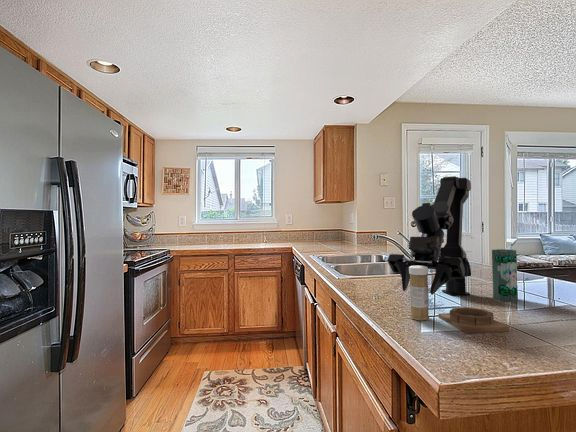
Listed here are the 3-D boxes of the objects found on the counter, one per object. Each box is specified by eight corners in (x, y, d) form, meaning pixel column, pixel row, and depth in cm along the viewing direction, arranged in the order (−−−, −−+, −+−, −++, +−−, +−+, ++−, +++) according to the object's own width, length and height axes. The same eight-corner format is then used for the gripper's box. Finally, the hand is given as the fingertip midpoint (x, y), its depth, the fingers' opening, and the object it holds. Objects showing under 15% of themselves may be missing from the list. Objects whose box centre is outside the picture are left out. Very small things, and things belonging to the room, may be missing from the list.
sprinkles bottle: (419, 314, 90) (417, 264, 90) (433, 319, 86) (431, 266, 86) (406, 317, 88) (405, 266, 88) (420, 322, 84) (418, 268, 84)
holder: (438, 317, 87) (438, 306, 87) (475, 315, 88) (475, 304, 88) (466, 333, 75) (466, 320, 75) (509, 330, 76) (508, 318, 76)
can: (505, 302, 100) (503, 251, 100) (489, 297, 106) (487, 249, 106) (522, 300, 101) (520, 250, 101) (505, 296, 107) (504, 248, 107)
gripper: (389, 225, 96) (372, 269, 87) (460, 225, 84) (449, 276, 75) (400, 250, 102) (386, 294, 93) (469, 253, 90) (459, 304, 81)
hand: (417, 291), depth 86 cm, fingers open, 7 cm apart
